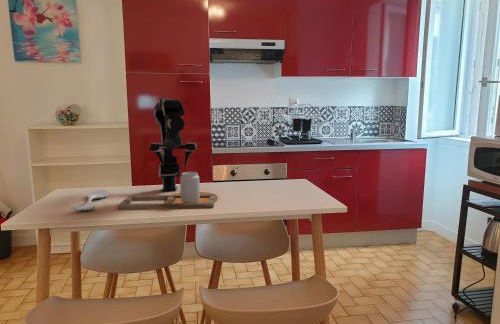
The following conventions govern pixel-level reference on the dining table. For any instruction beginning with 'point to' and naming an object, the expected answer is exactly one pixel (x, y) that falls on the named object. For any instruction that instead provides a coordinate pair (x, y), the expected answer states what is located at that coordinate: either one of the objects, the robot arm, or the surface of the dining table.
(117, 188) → the dining table surface
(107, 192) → the spoon
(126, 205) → the ladder rack
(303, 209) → the dining table surface
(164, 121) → the robot arm
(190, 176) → the can
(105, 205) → the dining table surface
